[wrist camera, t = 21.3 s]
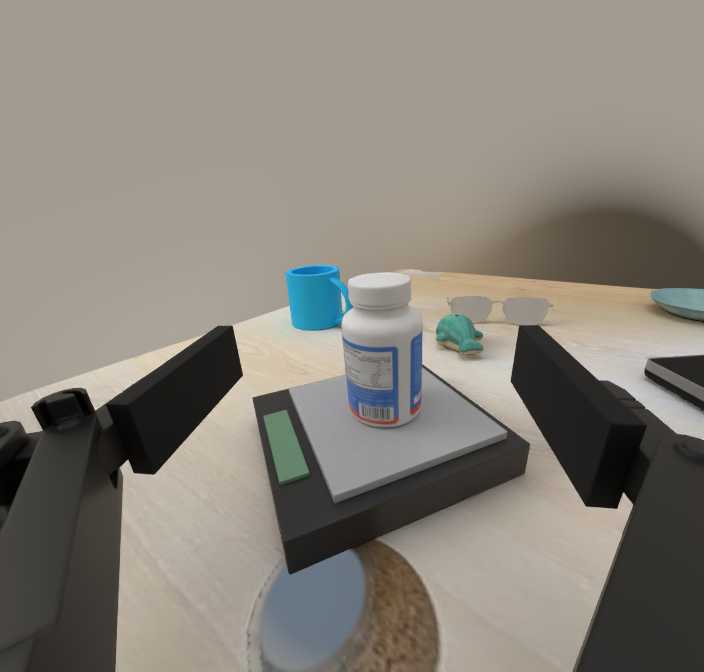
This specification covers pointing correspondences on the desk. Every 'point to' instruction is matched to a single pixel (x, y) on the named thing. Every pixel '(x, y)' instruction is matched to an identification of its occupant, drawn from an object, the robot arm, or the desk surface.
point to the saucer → (681, 302)
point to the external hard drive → (679, 376)
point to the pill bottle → (382, 350)
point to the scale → (374, 464)
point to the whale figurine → (459, 334)
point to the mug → (316, 297)
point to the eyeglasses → (514, 308)
